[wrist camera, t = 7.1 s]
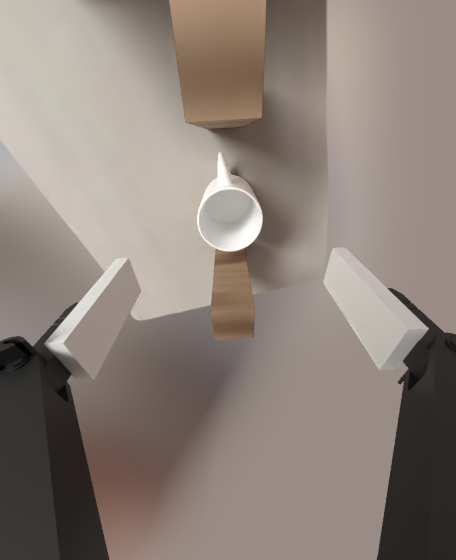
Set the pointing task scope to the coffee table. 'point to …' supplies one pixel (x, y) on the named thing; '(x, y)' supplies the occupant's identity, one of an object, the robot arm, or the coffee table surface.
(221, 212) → the mug
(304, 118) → the coffee table surface
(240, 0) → the post near
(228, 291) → the post far
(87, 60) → the coffee table surface
